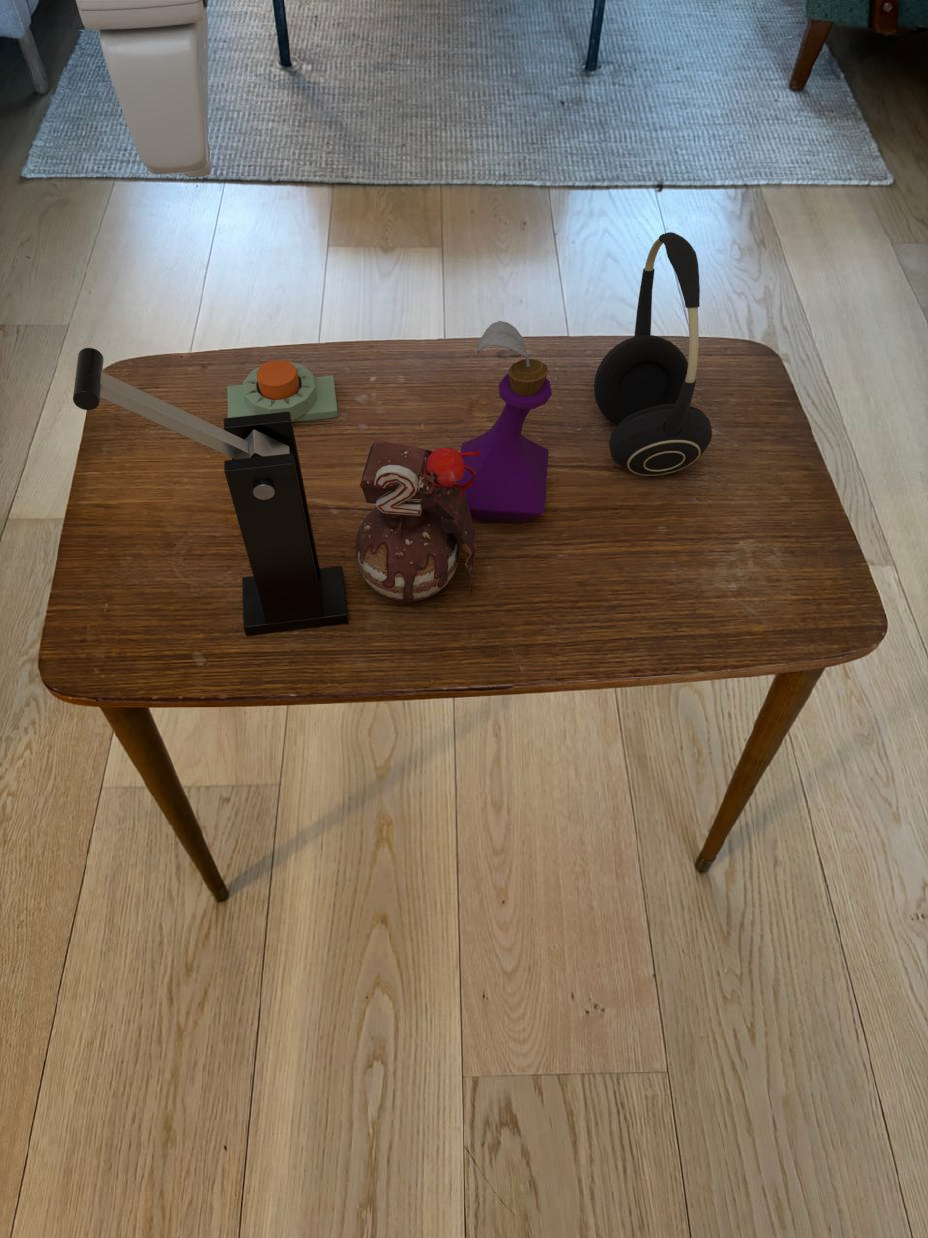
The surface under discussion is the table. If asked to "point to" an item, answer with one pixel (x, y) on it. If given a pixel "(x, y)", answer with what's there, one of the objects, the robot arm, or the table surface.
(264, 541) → the bracket
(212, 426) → the lever
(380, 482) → the chocolate birthday cake
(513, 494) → the perfume bottle
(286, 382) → the button
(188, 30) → the robot arm
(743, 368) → the table surface
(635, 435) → the headphones
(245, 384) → the button box
